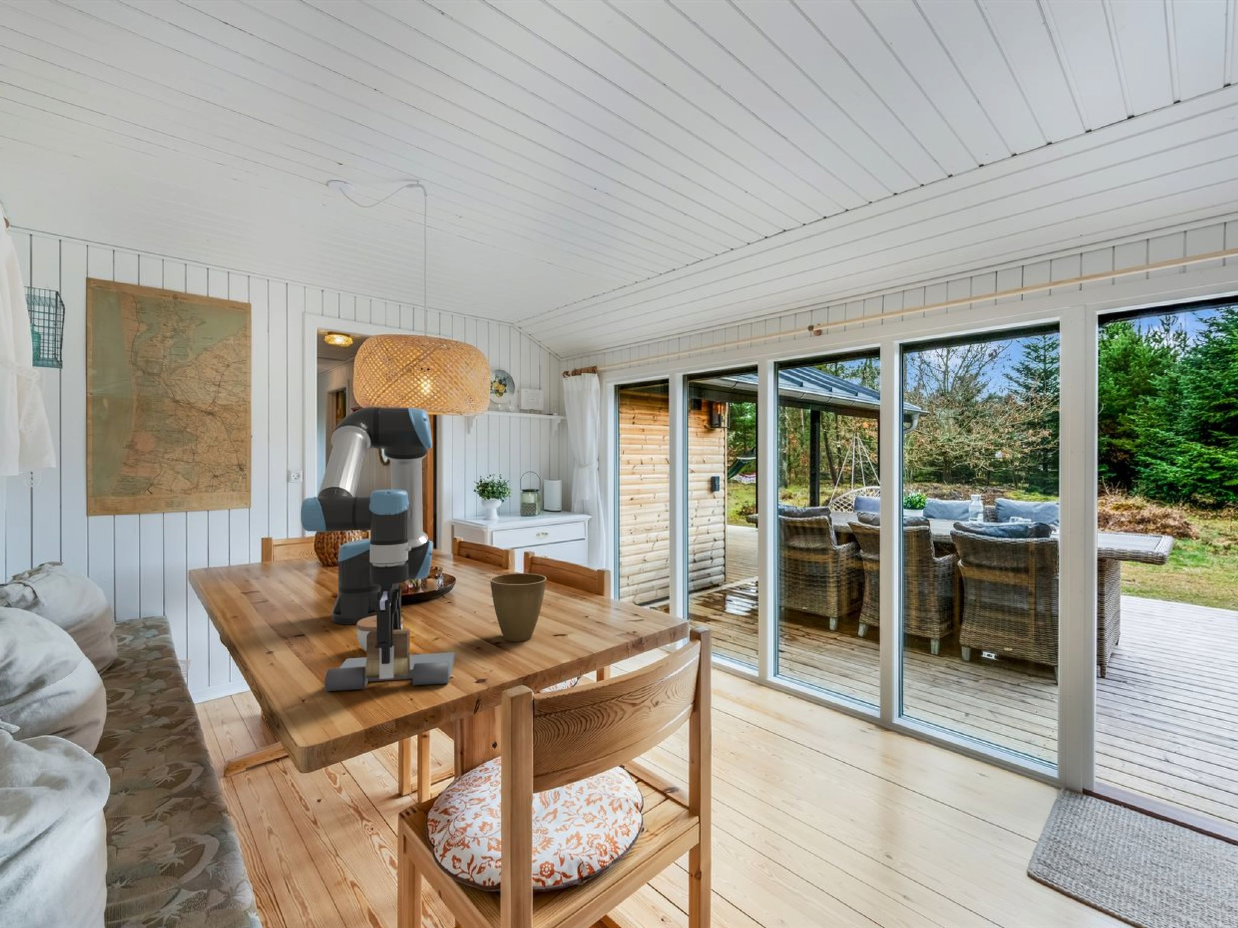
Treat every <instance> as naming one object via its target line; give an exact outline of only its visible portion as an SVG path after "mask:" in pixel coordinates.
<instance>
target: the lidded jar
mask: <svg viewBox="0 0 1238 928" xmlns="http://www.w3.org/2000/svg"><path fill="white" fill-rule="evenodd" d="M403 624H404V617H403V616H401V629H403V626H404V625H403ZM370 631H377V615H376V616H371V617H367V618H364V619H361V620H359V621H358V622H357V624H356V634H357V641H358V643H359V646H360V647H361V649H363V651H365V652H366V653H367V634H368V633H369V632H370Z"/></svg>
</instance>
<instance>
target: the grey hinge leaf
mask: <svg viewBox="0 0 1238 928" xmlns="http://www.w3.org/2000/svg"><path fill="white" fill-rule="evenodd" d="M366 661H367V656H366V657H353V658H352V657H351V658H348V657H347V658H346V659H345V661H344V662H343V663H342V664H341V665H340V666H339V667H332V668H328V669H327V671H326V673H325V679H324V689H325V691H326V692H335V691H338V692H339V691H349V690H350V691H351V690H364V689H365V688H366V686H367V685H368V683H369V682H379V681H381V682H382V681H394V680H395V681H396V680H409V679H410V680H411V679H412V685H413V686H423V685H441V684H449V681H450V679H449V678H451V676H450V675H452V671H453V669H454V666H455V661H456V652H455V651H454V652H438V653H437V652H435V653H419V654H417V653H416V654H410V671H409V673H408V675H407V676H401V677H394V678H388V679H379V678H368V679H367V676H366Z"/></svg>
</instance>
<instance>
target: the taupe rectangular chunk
mask: <svg viewBox="0 0 1238 928" xmlns="http://www.w3.org/2000/svg"><path fill="white" fill-rule="evenodd" d="M410 633H411V630H410V628H407V629H406V628H404V629H401V630H393V646H394V677H401V676H407V675H408V673H409V671H410V655H411V639H410V638H411V634H410ZM376 644H377V631H370V632H369V633H368V634H367V652H366V657H367V661H366V676H367V679H368V678H379V648H375V645H376Z"/></svg>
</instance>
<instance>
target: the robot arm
mask: <svg viewBox="0 0 1238 928" xmlns="http://www.w3.org/2000/svg"><path fill="white" fill-rule="evenodd" d="M331 434H332V435H331V438H330V443H331V446H332V450H331V452H330V455H329V459H328V462H327V464H326V465H327V466H326V469H325V471H324V474H323V479H322V480H321V481H322V482H321V483H320V488H319V491H318V495H317V496H314V497H307V498H305V499H304V500H303V501H302V504H301V507H300V522H301V527H302V528H303V530H305V531H306V532H318V533H321V532H322V533H327V532H329V533H330V532H345V531H346V532H349V531H370V532H369V538H364V539H357V540H352V541H349V542H346V543H343V544H342V545H341V546H340V547H339V549H338V555H337V557H338V559H337V562H338V563H337V564H338V565H337V567H338V568H337V570H338V571H337V573H338V575H337V576H338V577H337V578H338V590H337V591H338V592H337V593H338V594H337V597H336V600H335V602H334V606H333V609H332V611H331V621H332V622H333V623H335V624H339V625H357V622H358V621H359V620H361V619H364V618H367V617H371V616H376V615H377V644H376V645H375V648H379V679H388V678H394V646H393V630H401V617H402V590H403V587H402V585H401V586H400V585H399V584H401V583H404V582H407V581H416V580H424V579H427V578H428V576H429V575H430V573H431V572H430V571H431V566H432V560H433V559H432V558H433V556H432V555H433V551H434V542H433V541H432V540H430V539H429V536H428V534H427V533H426V532H424V525H423V523H424V521H423V520H424V518H423V516H424V515H423V466H422V465H423V464H422V462H423V461H422V460H423V459H424V458H426V457H427V455H428V450H431V449H432V448H433V439H432V438H433V437H432V429H431V422H430V417H429V414H428V412H427V411H426V410H425V409H422V408H413V407H387V406H386V407H384V406H383V407H377V406H369V407H367V406H366V407H362V408H360V409H357V410H355V411H353V412H350V414H347V415H346V416H345V417H343V419H341V420H340V421H339V422H338V424H337V425H336V427H335V428H334V429H333V431H332V433H331ZM370 449H378V450H379V449H381V450H382V449H383V451H384V453H383V455H384V457H385V458H386V459H388V460H389V462H390V463H389V464H390V465H389V466H390V489H375V490H372V492H371V493H370V496H356V493H357V488H358V485H359V480H360V475H361V472H362V471H361V470H362V465H363V460H364V456H365V454H366V453H368V451H370Z"/></svg>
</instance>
